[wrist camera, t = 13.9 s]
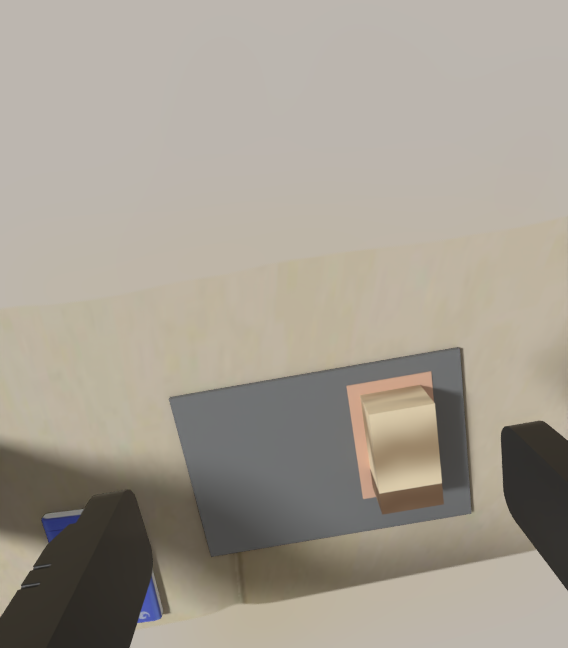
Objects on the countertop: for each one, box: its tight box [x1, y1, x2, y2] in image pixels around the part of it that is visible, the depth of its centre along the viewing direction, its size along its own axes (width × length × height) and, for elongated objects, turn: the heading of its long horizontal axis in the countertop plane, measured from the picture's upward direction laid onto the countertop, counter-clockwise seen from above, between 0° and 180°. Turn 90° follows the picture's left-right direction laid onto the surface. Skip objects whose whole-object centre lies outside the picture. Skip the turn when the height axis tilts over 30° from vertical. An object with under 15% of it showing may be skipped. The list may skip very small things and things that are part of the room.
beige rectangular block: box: [360, 385, 444, 515], centre depth 37 cm, size 9×5×4 cm, turn 10°
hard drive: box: [42, 509, 163, 623], centre depth 41 cm, size 2×8×12 cm
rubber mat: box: [169, 347, 471, 557], centre depth 39 cm, size 24×16×1 cm, turn 100°
